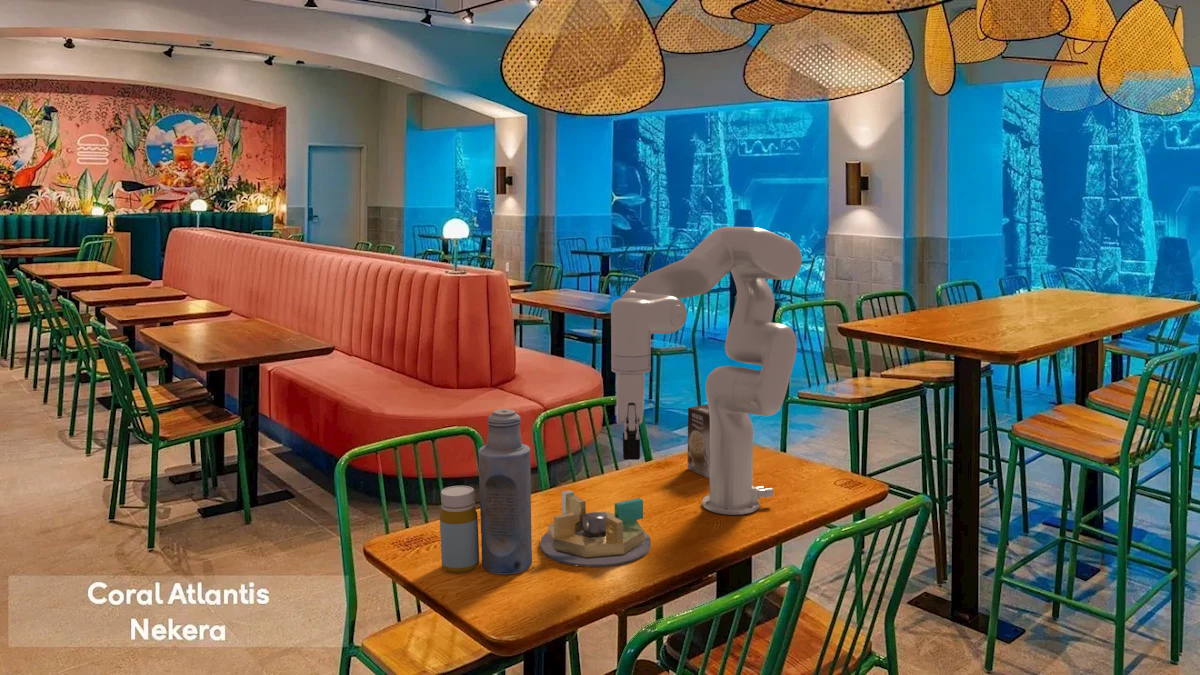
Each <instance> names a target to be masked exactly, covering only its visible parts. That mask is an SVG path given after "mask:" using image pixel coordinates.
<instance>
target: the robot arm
mask: <svg viewBox="0 0 1200 675" xmlns="http://www.w3.org/2000/svg"><path fill="white" fill-rule="evenodd" d="M802 257H803V255H802V252H801V249H800V248H799V247H798V245H797V243H795V242H794V241H793V240H791V239H789V238H786V237H784V236H781V235H780V234H776V233H774V232H772V231H770V230H766V229H764V228H760V227H753V226H752V227H751V226H723V227H722V226H721V227H719V228H716V229H715V230H713V231H712V232H711V233H710V234H709V235H707V236H706V237H705V238H704V239H703V240H702V241H701V242H700V243H699V244H698V245H697V246H696V247H694V248H693V249H692V250H691V251H690V252H689V253H688V254H686V256H685V257H684V258H682V259H680V260H678V261H675V262H673V263H669V264H668V265H666V266H664V267H661V268H659V269H656V270H654V271H652V272H649V273H648V274H646V275H644V276H643V277H641V278H640V279H638V280H637V281H636V282H635V283H634V284H632V285H631V286H630V287H628V289H627V290H626V291H625V292H624V294H622V296H621V297H620V298H618V299H615V300H614V301H613V302H612V304H611V307H610V308H611V309H610V316H611V317H610V327H611V328H610V330H611V331H610V334H611V335H610V338H611V339H610V340H611V342H610V343H611V344H610V346H611V348H610V350H611V352H610V354H611V360H610V362H611V363H610V364H611V372H612V373H615V374H616V380H615V381H616V383H615V384H616V386H615V388H616V389H615V390H616V393H615V394H616V397H615V398H616V399H615V400H616V403H615V404H616V405H615V406H616V410H615V411H616V424H617V425H621V424H623V432H622V453H623V454H622V458H623V460H625V461H626V460H627V461H632V460H633V461H634V460H635V461H636V460H637V461H638V460H640V459H641V438H640V432H639V430H640V428H639V427H640V425H642V424H643V419H644V417H643V415H644V407H645V406H644V405H645V374H648V373H649V372H651V369H652V366H651V363H652V362H651V360H652V359H651V357H652V356H651V351H652V350H651V349H652V347H651V346H652V345H651V343H652V342H651V341H652V338H651V337H652V335H654V334H656V335H657V334H661V335H668V334H673V333H676V332H677V331H679V330H680V329H681V328H682V327H683V326H684V325H685V323H686V321H687V317H688V316H687V315H688V312H687V307H686V305H685V303H684V302H683V301H682V300H681V299H685V298H692V297H695V296H699V295H703V294H706V293H709V292H710V291H711V290H712V289H713V288H714V287H715V286H716V285H717V284H718V283H719V282H721V280H723V278H725V276H726V275H728V273H729V272H730V273H731V276H732V278H733V281H734V283H735V284H734V285H735V288H736V302H735V305H734V306H735V307H734V308H733V309H734V311H733V313H732V317H731V321H730V324H729V327H728V329H727V330H728V331H727V334H726V340H725V343H724V351H725V354H726V356H727V357H728V359H731V360H732V361H735V362H738V363H742V364H743V363H744V364H749V365H756V366H761V370H760V369H759V370H758V369H752V368H748V367H741V366H736V365H735V366H732V365H722V366H718V367H716V368H714V369H713V370H712V371H710V373H709V374H708V375H707V378H706V381H705V396H706V400H707V404H708V407H709V415H710V477H709V494H708V495H705V496H704V497H703V498H702V502H701V503H702V504H701V505H702V506H703V508H704V509H705V510H707V511H709V512H712V513H715V514H720V515H728V516H738V515H746V514H747V515H748V514H752V513H754V512H756V511H757V510H759V508H760V501H759V500H760V499H761V498H771V497H774V494H775V493H774V489H773V487H769V488H764V486H763V485H761V486H754V485H753V484H754V483H753V482H754V481H753V478H754V476H753V470H754V468H753V467H754V460H753V459H754V426H753V423H752V420H751V417H750V416H749V415H756V416H761V417H770V416H771V417H772V416H774V415H775V414H777V413H778V412H779V411H780V409H781V407H782V405H783V404H784V400H785V398H786V394H787V391H788V386H789V384H790V379H791V377H792V372H793V367H794V365H795V361H796V358H797V357H796V356H797V353H798V352H797V351H798V343H797V342H798V341H797V338H796V337H797V336H796V334H795V332H794V330H793V329H792V328H791V327H790V326H788V325H786V324H783V323H779V322H772V321H773V320H772V319H773V315H774V311H775V306H776V302H775V296H774V294H773V290H772V289H771V287H770V286H769V284H768V282H767V280H777V281H778V280H779V281H786V280H790V279H793V278H794V277H795V276H796V275H797V274H798V273H799V271H800V270H801V268H802V262H803V260H802Z"/></svg>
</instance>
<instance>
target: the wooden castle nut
mask: <svg viewBox="0 0 1200 675" xmlns="http://www.w3.org/2000/svg"><path fill="white" fill-rule="evenodd" d="M586 510H587V508H586V500H584V499H582V498H580V497H579V496H577V495H574V496H573V497H570V513H567V514H562V513H561V514H559V515H554V516H553V522H551V523H550V524H547V532H548V536H549V539H550V541H551V544H552V546H553V548H554V549H555V550H559V551H563V552H567V553H571V554H575V555H579V556H583V557H595V556H606V555H617V554H625V553H626V552H628V551H630V550H631V549H633V548H634V547H636V546H638V545H639V544H641V543H643V542H644V532H645V530H644V529H643V528H642V525H640V524H639V522H638V521H639V520H643V519H644V499H643V498H641V497H638V498H637V497H636V498H632V499H627V500H624V501H623V500H622V501H618V502H614V513H613V512H608V511H599V512H600V513H604V514H607V515H608V516H607V517H606V537H595V538H588V537H584V536H580V535H576V533H577V532H579V531H582V530H583V515H585V514H587V513H588V512H586Z"/></svg>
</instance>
